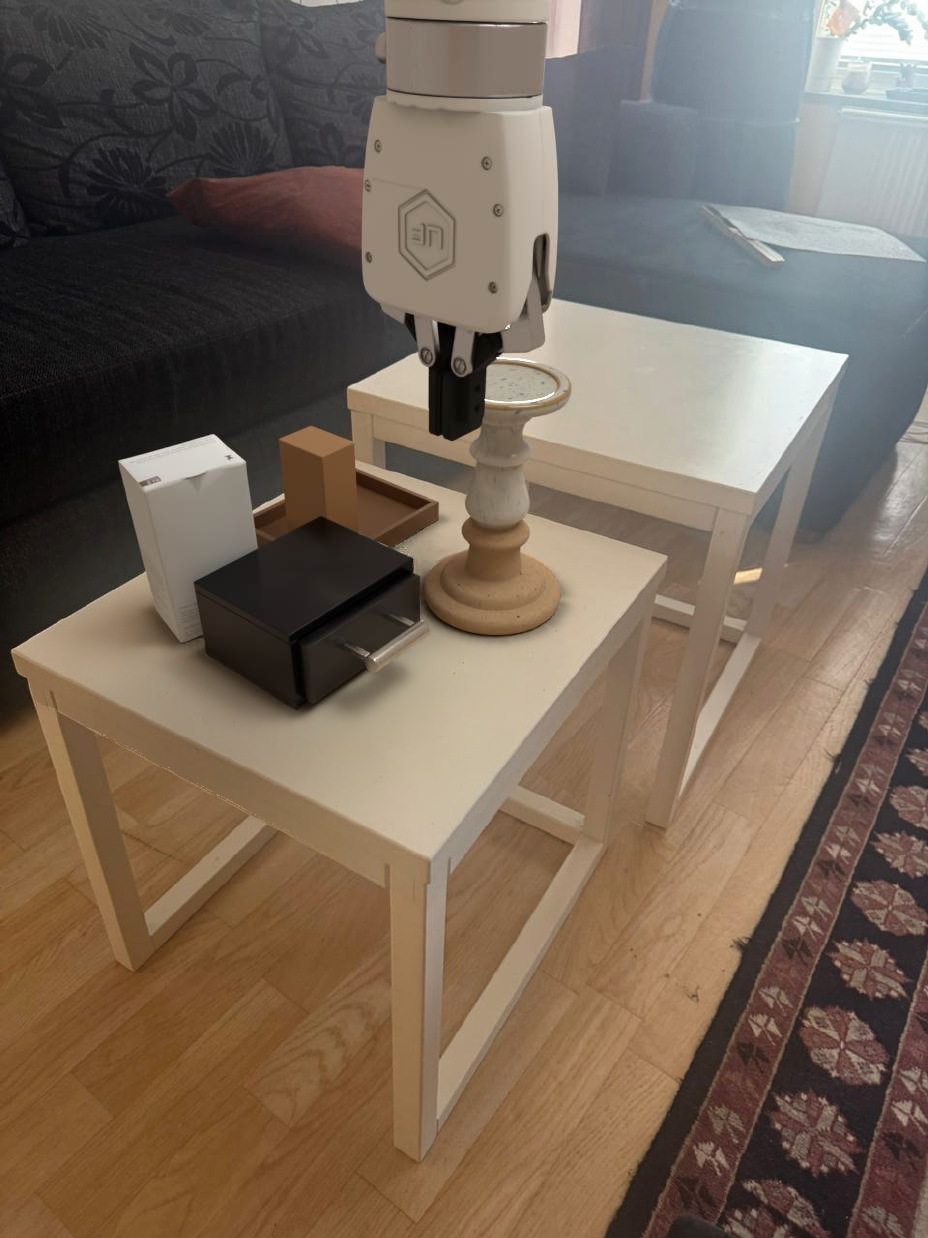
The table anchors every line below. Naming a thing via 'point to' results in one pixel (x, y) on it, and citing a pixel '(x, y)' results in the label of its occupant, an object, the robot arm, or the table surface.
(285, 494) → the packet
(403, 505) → the tray
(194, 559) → the cosmetic box
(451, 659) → the table surface
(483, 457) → the candle holder
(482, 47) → the robot arm
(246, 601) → the black drawer housing
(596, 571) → the table surface
